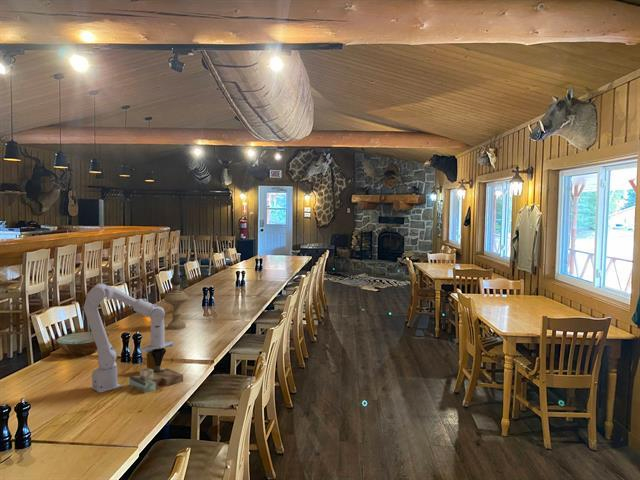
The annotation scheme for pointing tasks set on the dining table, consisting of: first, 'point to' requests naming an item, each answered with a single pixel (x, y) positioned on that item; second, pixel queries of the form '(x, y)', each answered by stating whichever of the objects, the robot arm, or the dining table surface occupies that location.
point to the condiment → (153, 364)
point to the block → (146, 374)
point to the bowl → (78, 343)
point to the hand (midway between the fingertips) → (158, 365)
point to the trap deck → (156, 380)
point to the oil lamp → (176, 301)
